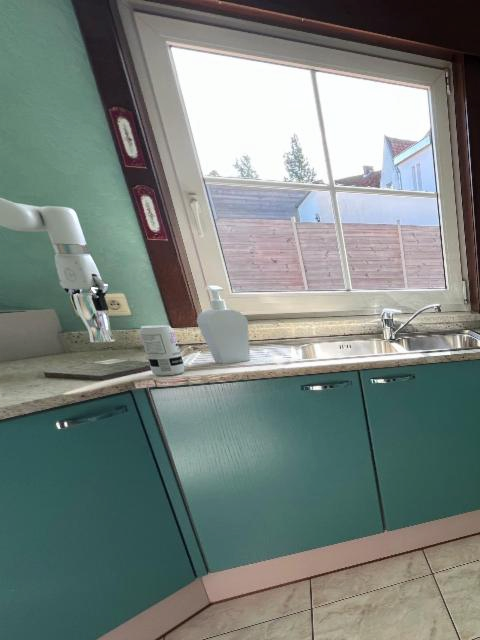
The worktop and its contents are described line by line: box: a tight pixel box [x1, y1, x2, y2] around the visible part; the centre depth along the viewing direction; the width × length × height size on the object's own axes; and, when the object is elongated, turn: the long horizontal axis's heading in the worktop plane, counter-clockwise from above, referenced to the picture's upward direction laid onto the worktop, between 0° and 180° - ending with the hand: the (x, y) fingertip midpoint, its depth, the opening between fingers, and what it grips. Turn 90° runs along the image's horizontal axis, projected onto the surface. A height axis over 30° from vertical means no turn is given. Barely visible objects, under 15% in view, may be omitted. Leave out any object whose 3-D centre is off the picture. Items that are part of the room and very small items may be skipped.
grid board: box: [43, 358, 152, 381], centre depth 158 cm, size 20×20×2 cm
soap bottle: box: [196, 285, 251, 365], centre depth 173 cm, size 12×10×26 cm
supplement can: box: [139, 324, 186, 376], centre depth 155 cm, size 8×8×15 cm
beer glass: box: [73, 292, 117, 344], centre depth 159 cm, size 7×7×15 cm
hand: (92, 309), depth 158 cm, fingers closed on beer glass, 7 cm apart
